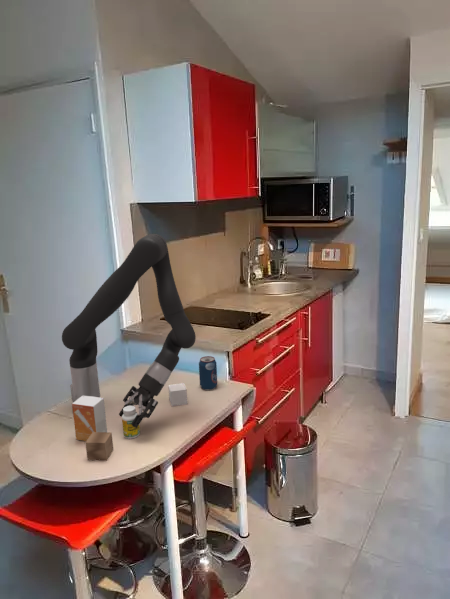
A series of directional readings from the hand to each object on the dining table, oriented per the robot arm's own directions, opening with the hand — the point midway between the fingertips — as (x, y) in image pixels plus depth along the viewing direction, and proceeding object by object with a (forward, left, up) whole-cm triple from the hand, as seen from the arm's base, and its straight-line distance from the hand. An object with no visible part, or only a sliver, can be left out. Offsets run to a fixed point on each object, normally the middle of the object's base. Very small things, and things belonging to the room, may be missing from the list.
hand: (127, 421), depth 155 cm
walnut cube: (-2, -12, -5) cm, 13 cm away
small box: (-11, -4, -6) cm, 13 cm away
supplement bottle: (+1, +1, -6) cm, 6 cm away
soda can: (+11, +42, -6) cm, 44 cm away
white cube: (+5, +27, -6) cm, 28 cm away
